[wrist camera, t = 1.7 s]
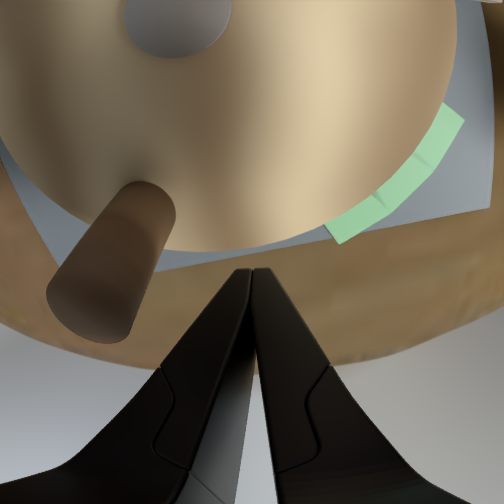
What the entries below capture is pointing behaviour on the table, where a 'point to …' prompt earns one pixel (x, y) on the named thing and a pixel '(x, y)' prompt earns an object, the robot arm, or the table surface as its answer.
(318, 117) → the dial
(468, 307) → the table surface
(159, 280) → the table surface
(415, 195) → the plate
